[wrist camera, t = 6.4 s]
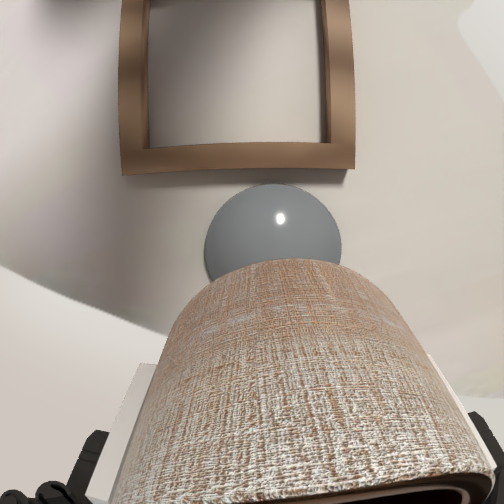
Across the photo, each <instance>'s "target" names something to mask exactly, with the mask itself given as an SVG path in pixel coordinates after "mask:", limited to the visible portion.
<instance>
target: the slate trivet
mask: <svg viewBox="0 0 504 504" xmlns="http://www.w3.org/2000/svg"><path fill="white" fill-rule="evenodd" d="M283 258H307V259H316V260H322V261H326V262H331V263H334V264H337V265H339V263H340V258H341V238H340V233H339V230H338V227H337V224H336V222H335V220H334V218H333V217H332V215H331V213H330V212H329V211H328V210H327V208H326V207H325V206H324V205H323V204H322V203H321V202H320V201H319V200H318V199H317V198H315V197H314V196H313V195H311V194H310V193H308V192H306V191H304V190H302V189H300V188H297V187H294V186H290V185H285V184H274V183H273V184H262V185H258V186H254V187H251V188H248V189H245V190H243V191H242V192H240V193H238V194H236V195H235V196H233V197H232V198H230V199H229V200H228V201H227V202H226V203H225V204H224V205H223V206H222V207H221V208H220V210H219V211H218V212H217V214H216V215H215V217H214V219H213V221H212V223H211V225H210V227H209V229H208V233H207V236H206V242H205V259H206V264H207V268H208V271H209V274H210V276H211V278H212V280H213V281H215V280H216V279H218V278H220V277H221V276H223V275H225V274H227V273H229V272H232V271H234V270H236V269H239V268H241V267H244V266H247V265H250V264H254V263H257V262H262V261H267V260H274V259H283Z"/></svg>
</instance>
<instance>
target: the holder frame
mask: <svg viewBox="0 0 504 504" xmlns="http://www.w3.org/2000/svg"><path fill="white" fill-rule="evenodd" d="M149 8H150V0H122V9H121V22H120V38H119V67H118V106H119V136H120V154H121V168H122V176H124V175H134V174H146V173H158V172H172V171H188V170H208V169H235V168H332V169H355V80H354V59H353V44H352V31H351V19H350V9H349V0H321V10H322V23H323V38H324V56H325V81H326V143H307V142H248V143H219V144H200V145H185V146H172V147H160V148H150V149H149V129H148V86H147V69H148V28H149Z"/></svg>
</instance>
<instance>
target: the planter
mask: <svg viewBox="0 0 504 504" xmlns="http://www.w3.org/2000/svg"><path fill="white" fill-rule="evenodd" d="M494 484H495V475H494V472H493V470H492V467H491V465H490V463H489V461H488V459H487V457H486V455H485V454H484V452H483V450H482V448H481V446H480V444H479V442H478V441H477V439H476V437H475V435H474V433H473V432H472V430H471V428H470V426H469V425H468V423H467V421H466V419H465V418H464V416H463V414H462V412H461V411H460V409H459V407H458V405H457V404H456V402H455V400H454V399H453V397H452V395H451V394H450V392H449V390H448V389H447V387H446V385H445V384H444V382H443V380H442V379H441V377H440V375H439V374H438V372H437V370H436V369H435V367H434V366H433V364H432V362H431V361H430V359H429V358H428V356H427V354H426V353H425V351H424V350H423V348H422V346H421V345H420V343H419V342H418V340H417V339H416V337H415V336H414V334H413V333H412V331H411V329H410V328H409V326H408V325H407V324H406V322H405V321H404V319H403V318H402V316H401V315H400V313H399V312H398V310H397V309H396V308H395V306H394V305H393V303H392V302H391V301H390V300H389V298H388V297H387V296H386V295H385V294H384V293H383V292H382V291H381V290H380V289H379V288H378V287H376V286H375V285H374V284H373V283H371V282H370V281H369V280H368V279H366V278H365V277H363V276H361V275H360V274H358V273H356V272H354V271H353V270H350V269H348V268H346V267H343V266H341V265H337V264H334V263H331V262H326V261H322V260H316V259H307V258H283V259H274V260H267V261H262V262H257V263H254V264H250V265H247V266H244V267H241V268H239V269H236V270H234V271H232V272H229V273H227V274H225V275H223V276H221V277H220V278H218V279H216V280H215V281H213V282H212V283H210V284H209V285H207V286H206V287H205V288H204V289H202V290H201V291H200V292H199V293H198V294H197V295H196V296H195V297H193V299H192V300H191V301H190V302H189V303H188V304H187V305H186V307H185V308H184V310H183V311H182V312H181V314H180V315H179V316H178V318H177V320H176V321H175V323H174V325H173V327H172V329H171V331H170V333H169V336H168V338H167V341H166V344H165V347H164V349H163V352H162V354H161V357H160V360H159V363H158V365H157V368H156V371H155V374H154V377H153V379H152V382H151V385H150V388H149V391H148V394H147V397H146V400H145V403H144V406H143V408H142V411H141V414H140V417H139V420H138V423H137V426H136V429H135V432H134V435H133V438H132V441H131V444H130V447H129V450H128V453H127V456H126V459H125V462H124V465H123V468H122V471H121V474H120V477H119V480H118V484H117V487H116V490H115V493H114V496H113V499H112V502H111V504H483V502H484V501H485V500H486V499H487V497H488V496H489V494H490V493H491V491H492V489H493V486H494Z"/></svg>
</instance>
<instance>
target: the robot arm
mask: <svg viewBox="0 0 504 504" xmlns="http://www.w3.org/2000/svg"><path fill="white" fill-rule="evenodd" d="M427 356H428V358H429V359H430V361H431V362H432V364H433V366H434V367H435V369H436V370H437V372H438V374H439V375H440V377H441V379H442V380H443V382H444V384H445V385H446V387H447V389H448V390H449V392H450V394H451V395H452V397H453V399H454V400H455V402H456V404H457V405H458V407H459V409H460V411H461V412H462V414H463V416H464V418H465V419H466V421H467V423H468V425H469V426H470V428H471V430H472V432H473V433H474V435H475V437H476V439H477V441H478V442H479V444H480V446H481V448H482V450H483V452H484V454H485V455H486V457H487V459H488V461H489V463H490V465H491V467H492V470H493V472H494V475H495V484H494V486H493V489H492V491H491V493H490V494H489V496H488V497H487V499H486V500H485V501H484V502H483V504H504V452H503V451H502V449H501V447H500V445H499V443H498V442H497V440H496V438H495V437H494V436H493V434H492V432H491V430H490V429H489V427H488V425H487V423H486V422H485V420H484V419H483V418H482V417H481V416H480V415H479V414H477V413H476V412H475V411H474V412H471V413H467V412H466V411H465V409H464V407H463V406H462V404H461V403H460V401H459V399H458V398H457V396H456V394H455V393H454V391H453V390H452V388H451V387H450V385H449V383H448V382H447V380H446V379H445V377H444V376H443V374H442V373H441V371H440V370H439V368H438V367H437V365H436V364H435V362H434V361H433V359H432V358H431V356H430V355H429V354H427ZM156 368H157V365H154V364H142V363H140V365H139V367H138V369H137V371H136V374H135V376H134V378H133V380H132V382H131V385H130V387H129V389H128V392H127V394H126V396H125V398H124V401H123V403H122V405H121V407H120V410H119V412H118V414H117V417H116V419H115V422H114V424H113V426H112V428H111V431H110V432H105V431H100V430H96V431H94V432H93V433H92V434H91V435H90V436H89V437H88V438H87V440H86V442H85V444H84V446H83V449H82V451H81V453H80V455H79V459H78V460H77V462H76V464H75V466H74V469H73V471H72V474H71V475H70V478H69V480H68V482H67V485H66V486H65V485H64V484H63V483H60V482H58V481H48V482H46V483H43V484H42V485H41V486H40V487H39V488H38V489H37V492H36V494H35V496H36V497H35V498H27V497H26V496H25V495H24V494H23V493H22V492H21V491H18V490H8V491H6V492H4V493H3V494H2V496H1V498H0V504H111V502H112V499H113V496H114V493H115V490H116V487H117V484H118V480H119V477H120V474H121V471H122V468H123V465H124V462H125V459H126V456H127V453H128V450H129V447H130V444H131V441H132V438H133V435H134V432H135V429H136V426H137V423H138V420H139V417H140V414H141V411H142V408H143V406H144V403H145V400H146V397H147V394H148V391H149V388H150V385H151V382H152V379H153V377H154V374H155V371H156Z"/></svg>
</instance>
